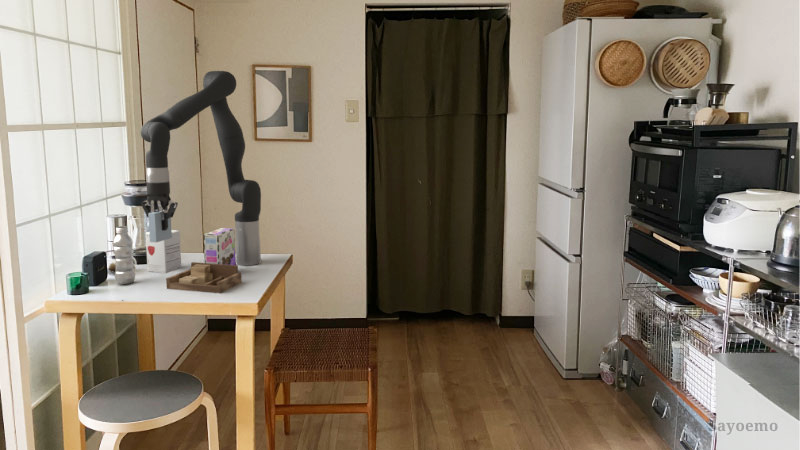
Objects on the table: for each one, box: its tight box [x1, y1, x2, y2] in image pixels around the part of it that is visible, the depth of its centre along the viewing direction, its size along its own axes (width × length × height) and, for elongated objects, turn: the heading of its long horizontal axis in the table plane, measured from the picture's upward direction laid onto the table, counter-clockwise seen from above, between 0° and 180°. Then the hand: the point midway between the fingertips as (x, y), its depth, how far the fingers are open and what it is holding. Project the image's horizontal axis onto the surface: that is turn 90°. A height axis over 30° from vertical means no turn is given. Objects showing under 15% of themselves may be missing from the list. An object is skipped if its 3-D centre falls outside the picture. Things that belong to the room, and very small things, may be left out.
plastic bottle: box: [112, 225, 136, 285], centre depth 224 cm, size 6×7×20 cm
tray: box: [165, 261, 242, 294], centre depth 219 cm, size 14×20×7 cm
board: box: [147, 210, 173, 242], centre depth 225 cm, size 9×2×10 cm, turn 165°
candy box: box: [203, 227, 237, 265], centre depth 238 cm, size 14×6×16 cm, turn 168°
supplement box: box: [145, 229, 182, 274], centre depth 244 cm, size 9×9×15 cm
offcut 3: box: [189, 273, 213, 285], centre depth 222 cm, size 5×6×3 cm
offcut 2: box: [189, 264, 210, 276], centre depth 222 cm, size 4×5×3 cm
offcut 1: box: [179, 276, 199, 284], centre depth 217 cm, size 4×5×3 cm
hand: (160, 229), depth 225 cm, fingers closed on board, 2 cm apart
